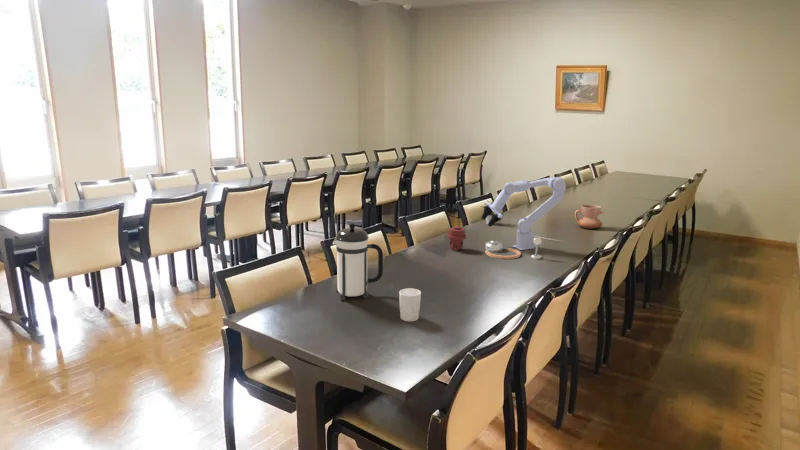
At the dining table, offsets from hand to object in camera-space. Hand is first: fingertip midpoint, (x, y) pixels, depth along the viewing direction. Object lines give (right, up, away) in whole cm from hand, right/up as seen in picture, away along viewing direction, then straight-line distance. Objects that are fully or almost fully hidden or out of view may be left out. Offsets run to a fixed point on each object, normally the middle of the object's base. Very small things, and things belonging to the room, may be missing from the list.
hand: (486, 222), depth 282 cm
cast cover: (+3, -15, -5) cm, 16 cm away
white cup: (-44, -36, -95) cm, 110 cm away
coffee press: (-65, -30, -73) cm, 103 cm away
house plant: (+12, -1, +55) cm, 57 cm away
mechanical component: (-17, -15, -6) cm, 23 cm away
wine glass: (+23, -18, -19) cm, 35 cm away
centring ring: (+8, -17, -15) cm, 24 cm away
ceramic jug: (+74, -3, +49) cm, 89 cm away
